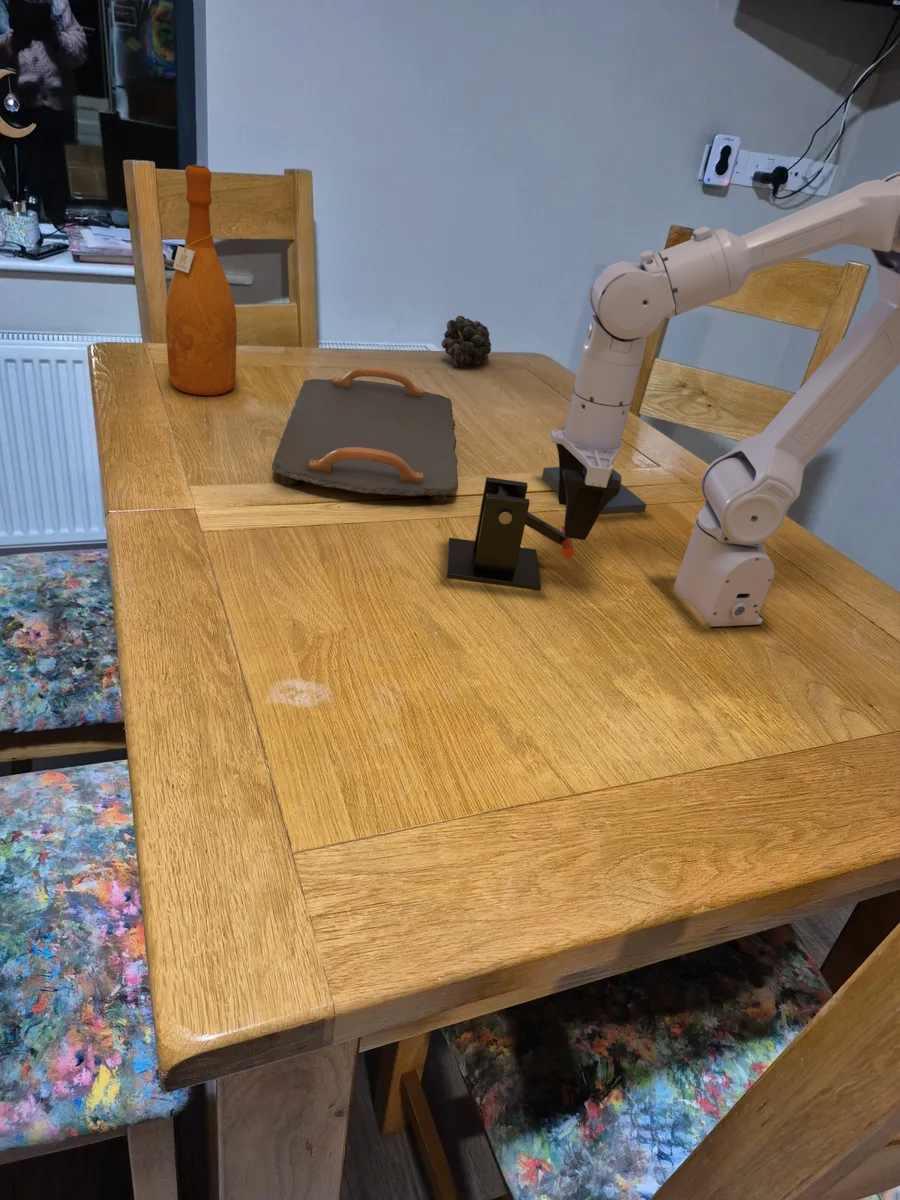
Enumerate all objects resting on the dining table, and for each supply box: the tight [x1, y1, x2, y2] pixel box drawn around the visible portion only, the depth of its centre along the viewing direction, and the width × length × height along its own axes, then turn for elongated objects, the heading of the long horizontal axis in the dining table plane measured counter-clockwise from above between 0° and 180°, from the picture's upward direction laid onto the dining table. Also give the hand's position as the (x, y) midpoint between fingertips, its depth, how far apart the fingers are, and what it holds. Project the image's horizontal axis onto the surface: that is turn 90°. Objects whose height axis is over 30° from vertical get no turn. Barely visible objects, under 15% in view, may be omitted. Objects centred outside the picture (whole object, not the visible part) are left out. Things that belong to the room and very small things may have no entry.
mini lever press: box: [446, 476, 542, 591], centre depth 88 cm, size 10×8×10 cm
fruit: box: [441, 315, 492, 368], centre depth 153 cm, size 9×8×15 cm
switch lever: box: [494, 486, 575, 559], centre depth 88 cm, size 10×5×2 cm, turn 88°
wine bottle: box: [165, 164, 237, 396], centre depth 117 cm, size 10×10×30 cm
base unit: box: [541, 466, 647, 516], centre depth 110 cm, size 12×9×4 cm
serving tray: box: [271, 366, 459, 505], centre depth 113 cm, size 39×23×6 cm, turn 1°
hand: (571, 520), depth 88 cm, fingers open, 7 cm apart
